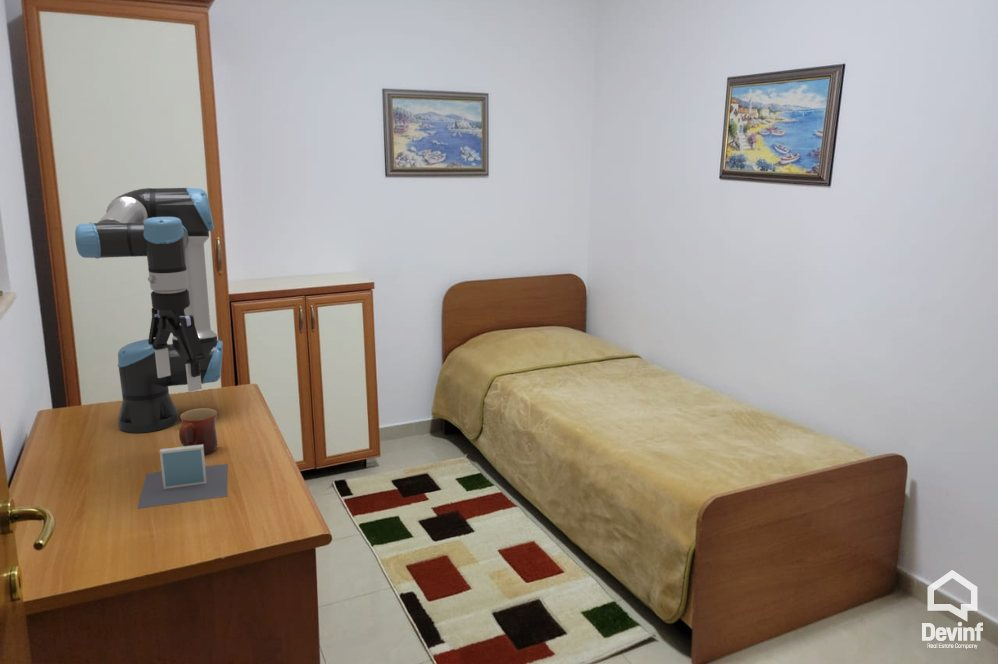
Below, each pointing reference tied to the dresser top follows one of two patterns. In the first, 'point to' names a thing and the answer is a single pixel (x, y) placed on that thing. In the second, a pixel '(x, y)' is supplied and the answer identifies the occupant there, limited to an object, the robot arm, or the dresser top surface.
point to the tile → (183, 466)
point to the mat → (184, 488)
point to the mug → (199, 429)
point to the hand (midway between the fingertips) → (179, 383)
